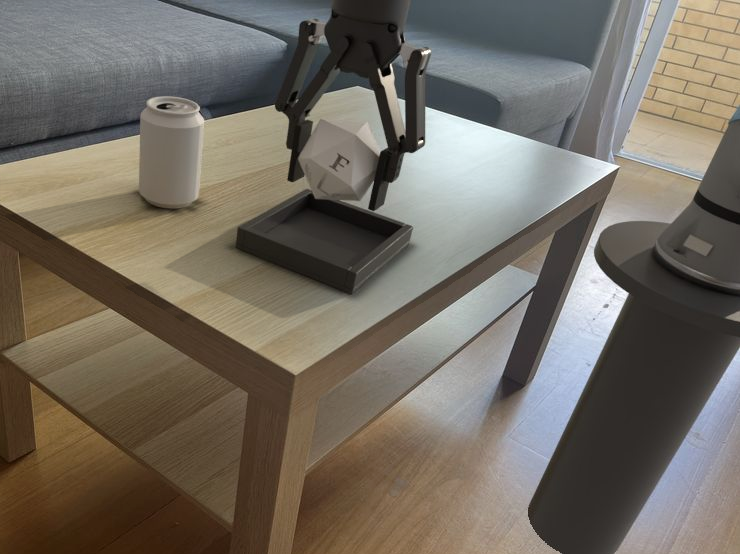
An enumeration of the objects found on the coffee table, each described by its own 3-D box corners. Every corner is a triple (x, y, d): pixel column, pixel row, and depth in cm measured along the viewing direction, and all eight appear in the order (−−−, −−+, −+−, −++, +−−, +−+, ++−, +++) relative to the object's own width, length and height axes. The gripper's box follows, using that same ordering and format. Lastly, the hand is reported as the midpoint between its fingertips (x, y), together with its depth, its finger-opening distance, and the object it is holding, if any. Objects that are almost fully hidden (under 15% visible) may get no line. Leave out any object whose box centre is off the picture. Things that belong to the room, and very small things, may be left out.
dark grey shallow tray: (408, 245, 89) (413, 226, 87) (351, 294, 77) (356, 273, 76) (303, 207, 94) (306, 188, 93) (235, 247, 82) (237, 226, 81)
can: (160, 181, 95) (164, 89, 88) (209, 197, 93) (217, 104, 86) (126, 199, 89) (127, 101, 82) (178, 217, 87) (183, 117, 80)
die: (277, 189, 83) (299, 140, 73) (316, 137, 86) (342, 83, 77) (339, 231, 83) (369, 187, 73) (376, 177, 86) (408, 128, 77)
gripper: (257, -48, 70) (235, 171, 83) (474, 1, 62) (412, 235, 75) (295, -50, 76) (269, 155, 89) (499, -6, 68) (438, 214, 80)
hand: (334, 192), depth 82 cm, fingers closed on die, 10 cm apart
